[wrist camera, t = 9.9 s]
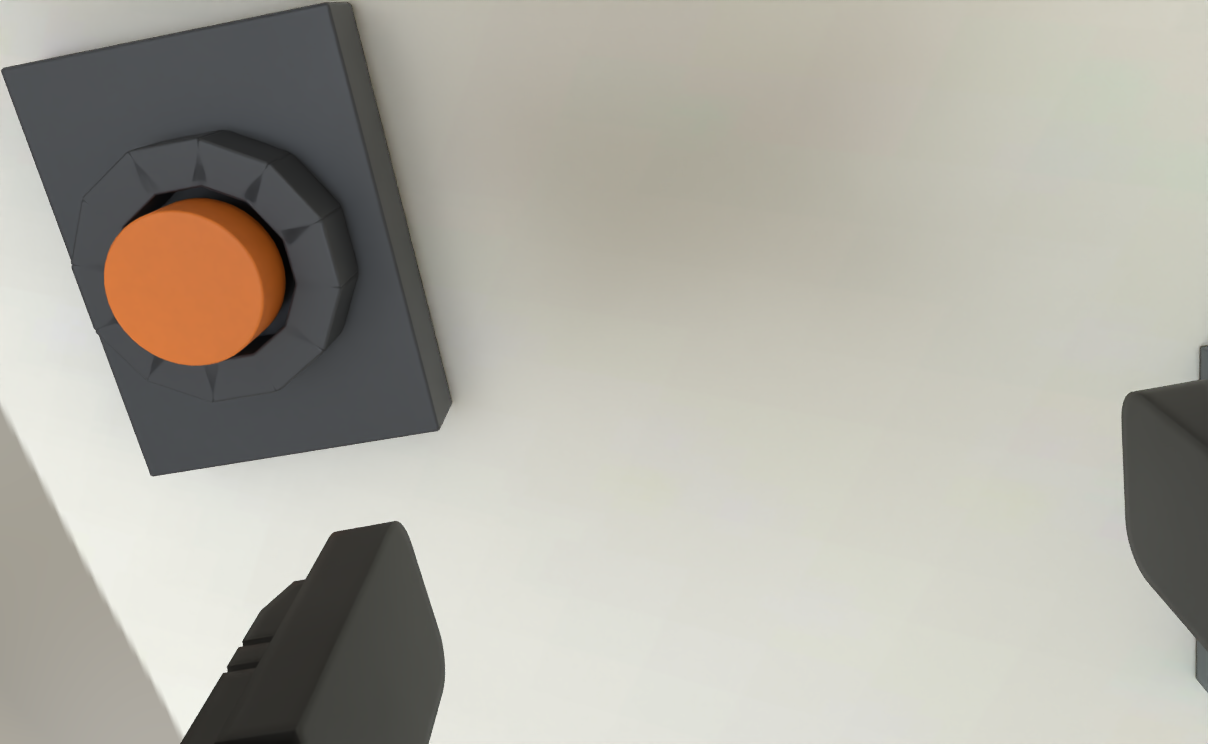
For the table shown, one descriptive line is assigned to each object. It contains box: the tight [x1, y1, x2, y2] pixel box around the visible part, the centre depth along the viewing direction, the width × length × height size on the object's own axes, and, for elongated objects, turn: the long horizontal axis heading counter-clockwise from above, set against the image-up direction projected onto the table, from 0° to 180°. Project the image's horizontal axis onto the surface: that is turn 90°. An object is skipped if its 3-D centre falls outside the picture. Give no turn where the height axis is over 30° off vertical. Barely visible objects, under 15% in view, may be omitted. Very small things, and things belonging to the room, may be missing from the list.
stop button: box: [104, 198, 286, 366], centre depth 26 cm, size 4×4×2 cm
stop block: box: [1, 2, 452, 476], centre depth 28 cm, size 12×9×4 cm
